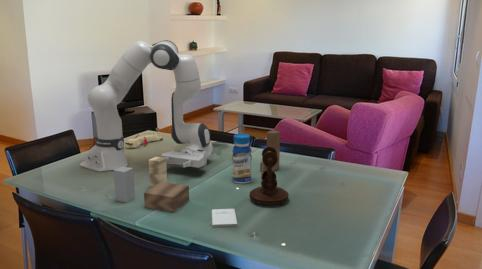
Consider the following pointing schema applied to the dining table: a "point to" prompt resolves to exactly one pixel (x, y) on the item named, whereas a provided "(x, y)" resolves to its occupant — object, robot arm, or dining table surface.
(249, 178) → the beverage bottle
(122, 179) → the grey block
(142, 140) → the cat figure
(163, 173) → the maple block
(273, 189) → the dark brown tall piece
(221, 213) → the external hard drive
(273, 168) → the wooden block
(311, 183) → the dining table surface
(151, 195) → the walnut base block
